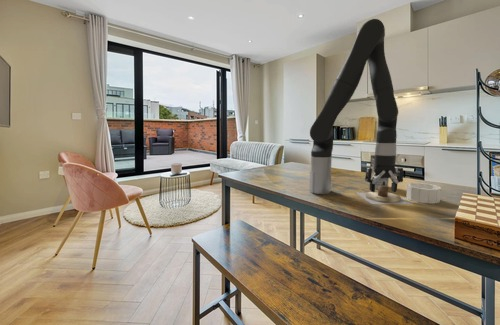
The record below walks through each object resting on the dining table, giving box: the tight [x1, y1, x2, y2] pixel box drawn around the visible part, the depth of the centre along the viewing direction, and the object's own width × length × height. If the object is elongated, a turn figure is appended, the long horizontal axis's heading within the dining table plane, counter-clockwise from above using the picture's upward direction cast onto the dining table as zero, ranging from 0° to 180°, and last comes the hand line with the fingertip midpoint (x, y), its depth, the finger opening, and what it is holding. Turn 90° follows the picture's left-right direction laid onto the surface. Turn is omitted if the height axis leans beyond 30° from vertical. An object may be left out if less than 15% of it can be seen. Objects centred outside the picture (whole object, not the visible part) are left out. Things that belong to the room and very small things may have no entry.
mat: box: [355, 192, 415, 205], centre depth 98 cm, size 16×16×1 cm
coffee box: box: [368, 154, 390, 190], centre depth 115 cm, size 9×6×16 cm
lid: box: [365, 185, 402, 203], centre depth 98 cm, size 13×13×5 cm
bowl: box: [405, 182, 442, 204], centre depth 95 cm, size 11×11×6 cm
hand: (383, 191), depth 98 cm, fingers open, 8 cm apart
